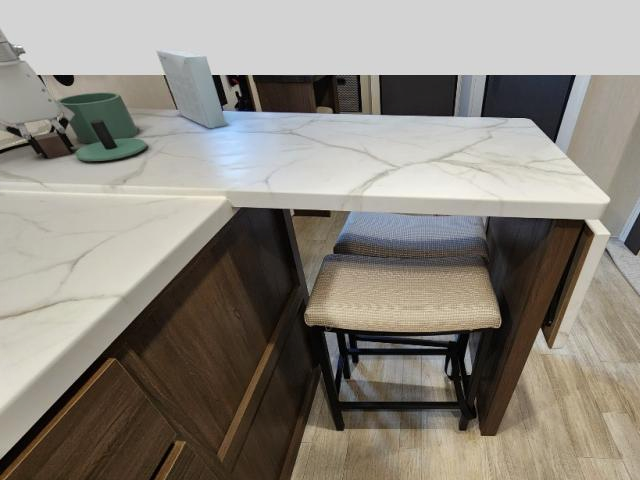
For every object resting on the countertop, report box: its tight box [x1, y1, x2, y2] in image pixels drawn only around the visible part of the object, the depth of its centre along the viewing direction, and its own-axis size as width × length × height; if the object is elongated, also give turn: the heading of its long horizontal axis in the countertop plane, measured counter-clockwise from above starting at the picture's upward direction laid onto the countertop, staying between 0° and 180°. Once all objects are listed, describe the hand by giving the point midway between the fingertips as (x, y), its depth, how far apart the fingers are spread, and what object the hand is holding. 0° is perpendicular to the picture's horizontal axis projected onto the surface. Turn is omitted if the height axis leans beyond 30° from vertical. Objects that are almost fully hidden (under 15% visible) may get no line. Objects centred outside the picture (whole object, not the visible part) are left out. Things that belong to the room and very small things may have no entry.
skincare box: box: [156, 49, 227, 129], centre depth 91 cm, size 21×6×16 cm, turn 47°
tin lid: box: [74, 120, 147, 162], centre depth 74 cm, size 14×14×7 cm
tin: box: [56, 91, 139, 145], centre depth 82 cm, size 13×13×8 cm
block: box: [32, 131, 72, 160], centre depth 74 cm, size 4×4×4 cm
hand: (57, 153), depth 75 cm, fingers closed on block, 4 cm apart
